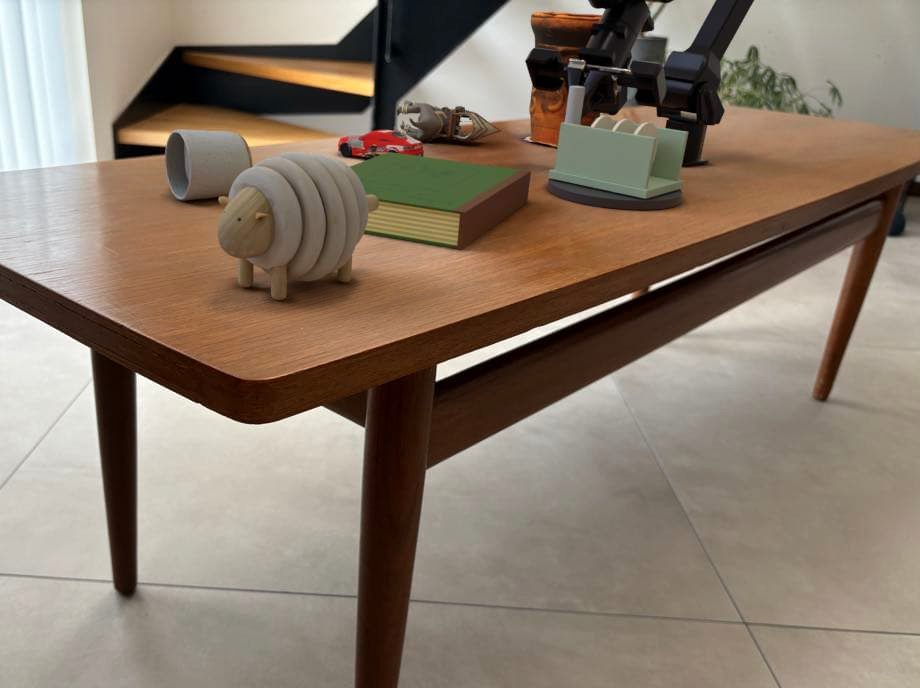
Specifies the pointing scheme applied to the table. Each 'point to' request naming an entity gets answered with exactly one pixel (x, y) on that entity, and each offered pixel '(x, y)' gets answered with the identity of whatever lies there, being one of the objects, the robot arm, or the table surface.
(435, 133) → the figurine
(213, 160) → the ceramic mug
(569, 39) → the vessel
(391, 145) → the race car
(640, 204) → the turntable
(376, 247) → the table surface
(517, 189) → the hardcover book
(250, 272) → the toy sheep
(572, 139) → the dish rack
